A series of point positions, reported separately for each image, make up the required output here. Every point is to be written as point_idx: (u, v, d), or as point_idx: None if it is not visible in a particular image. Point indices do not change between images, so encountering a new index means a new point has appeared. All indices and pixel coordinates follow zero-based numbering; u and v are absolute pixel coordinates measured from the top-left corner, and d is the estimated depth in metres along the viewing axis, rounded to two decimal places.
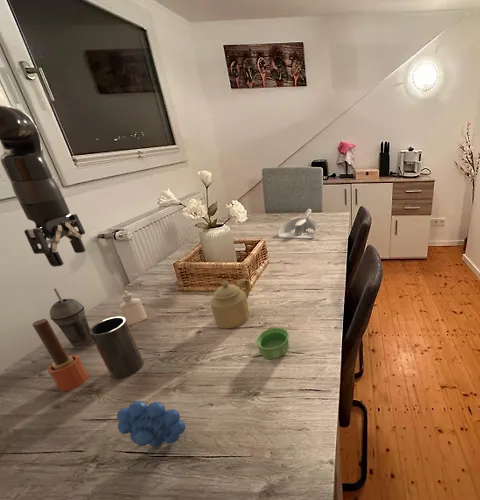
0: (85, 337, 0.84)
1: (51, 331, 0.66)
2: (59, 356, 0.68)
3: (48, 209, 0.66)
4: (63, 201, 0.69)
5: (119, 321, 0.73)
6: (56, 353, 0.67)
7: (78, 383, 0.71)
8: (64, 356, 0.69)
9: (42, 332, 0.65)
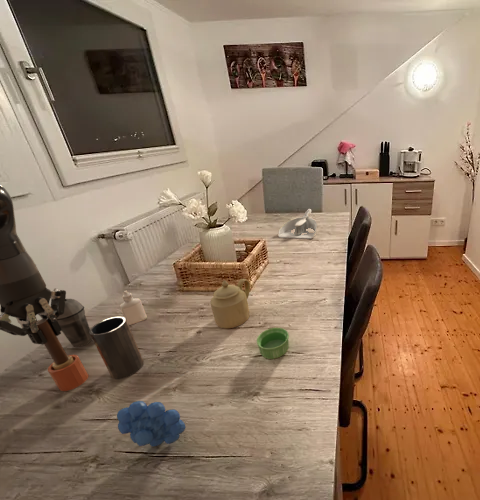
0: (85, 337, 0.84)
1: (51, 331, 0.66)
2: (59, 356, 0.68)
3: (10, 291, 0.58)
4: (33, 279, 0.60)
5: (119, 321, 0.73)
6: (56, 353, 0.67)
7: (78, 383, 0.71)
8: (64, 356, 0.69)
9: (42, 332, 0.65)
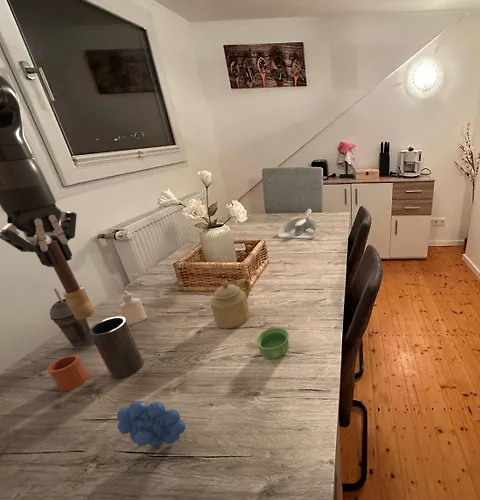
0: (85, 337, 0.84)
1: (61, 254, 0.61)
2: (70, 283, 0.63)
3: (17, 198, 0.53)
4: (42, 189, 0.56)
5: (119, 321, 0.73)
6: (67, 279, 0.63)
7: (78, 383, 0.71)
8: (75, 284, 0.64)
9: (52, 253, 0.60)
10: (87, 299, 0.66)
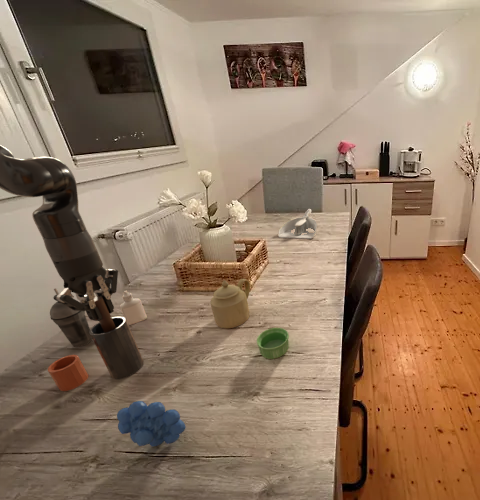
0: (85, 337, 0.84)
1: (106, 308, 0.68)
2: None
3: (74, 267, 0.60)
4: (93, 256, 0.63)
5: (119, 321, 0.73)
6: (110, 330, 0.70)
7: (78, 383, 0.71)
8: None
9: None
10: None
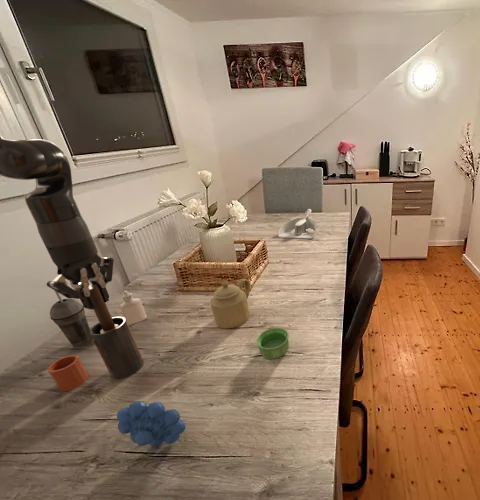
0: (85, 337, 0.84)
1: (101, 297, 0.67)
2: (107, 323, 0.69)
3: (67, 253, 0.59)
4: (88, 243, 0.61)
5: (119, 321, 0.73)
6: (105, 320, 0.68)
7: (78, 383, 0.71)
8: (112, 323, 0.70)
9: (93, 297, 0.66)
10: None
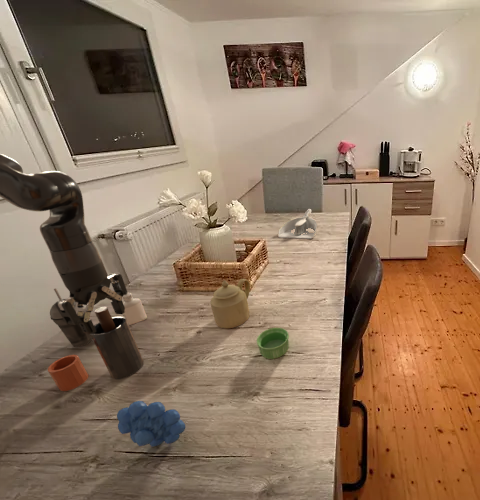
0: (85, 337, 0.84)
1: (110, 318, 0.70)
2: None
3: (80, 278, 0.61)
4: (99, 267, 0.64)
5: (119, 321, 0.73)
6: None
7: (78, 383, 0.71)
8: None
9: (103, 319, 0.68)
10: None
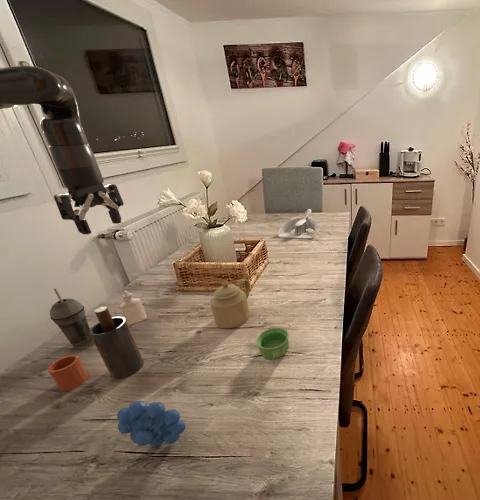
0: (85, 337, 0.84)
1: (110, 318, 0.70)
2: None
3: (77, 176, 0.66)
4: (95, 169, 0.69)
5: (119, 321, 0.73)
6: None
7: (78, 383, 0.71)
8: None
9: (103, 319, 0.68)
10: None
